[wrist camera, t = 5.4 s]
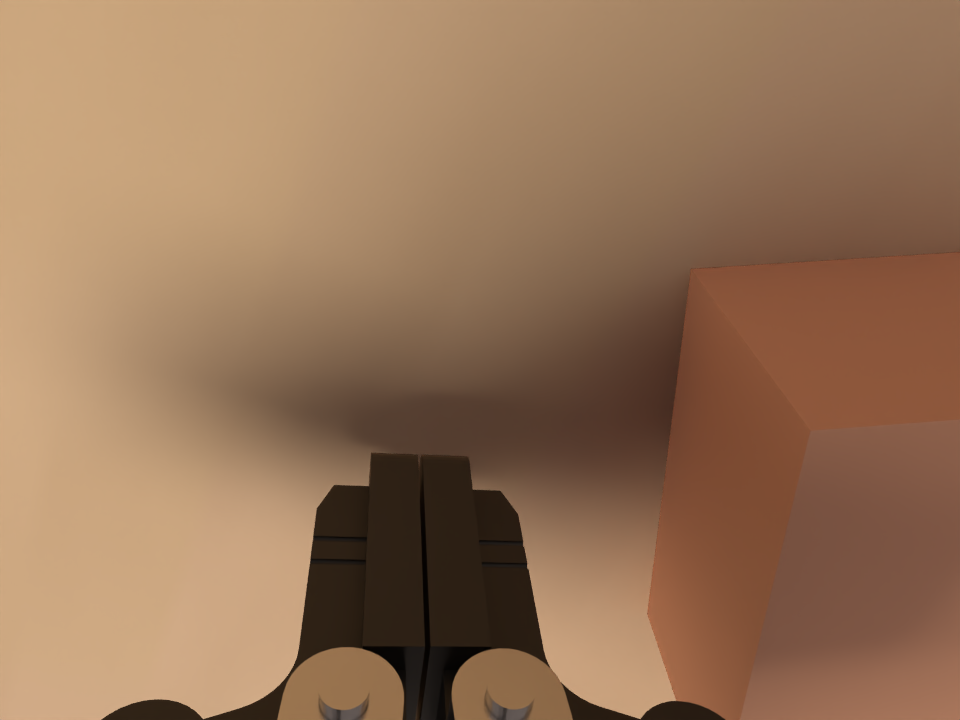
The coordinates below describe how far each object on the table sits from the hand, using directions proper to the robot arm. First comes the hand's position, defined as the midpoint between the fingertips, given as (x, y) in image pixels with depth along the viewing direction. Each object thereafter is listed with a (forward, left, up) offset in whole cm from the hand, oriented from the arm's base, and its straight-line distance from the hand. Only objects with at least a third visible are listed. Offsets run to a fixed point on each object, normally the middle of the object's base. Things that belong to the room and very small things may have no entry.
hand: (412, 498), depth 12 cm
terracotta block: (+9, 0, -2) cm, 9 cm away
